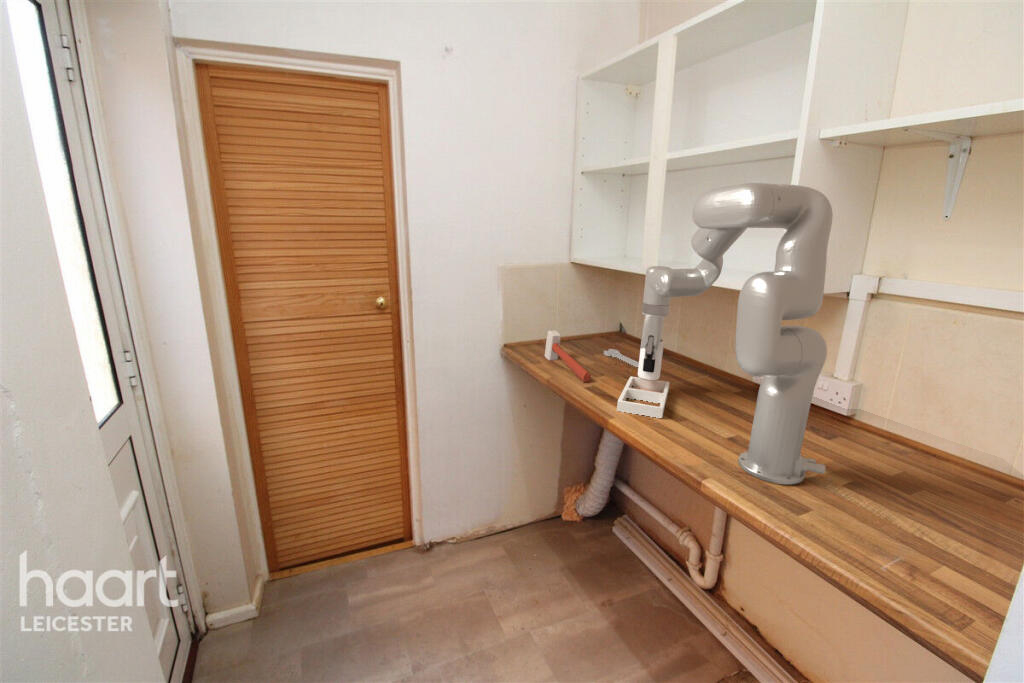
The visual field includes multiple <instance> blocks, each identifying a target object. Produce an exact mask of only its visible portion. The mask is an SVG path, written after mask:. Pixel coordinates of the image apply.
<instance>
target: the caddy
mask: <svg viewBox="0 0 1024 683" xmlns="http://www.w3.org/2000/svg"><path fill="white" fill-rule="evenodd" d="M632 386H633V387H632ZM639 387H640V388H639ZM669 389H670V381H665V380H659V379H658V380H655V381H649V380H644V379H641V378H639V376H637V377H636V376H630V377H629V378H628V380H627V382H626V383H625V386H624V388H623V389H622V391H621V394H620V396H619V397H618V400H617V404H616V412H618V411H621V412H620V413H624V412H626V413H625V414H629V413H632V414H631V415H635V414H639V415H638V416H641V415H645V416H644V417H646V416H650V417H649V418H652V417H656V418H655V419H658V418H662V419H663V416H664V411H665V407H666V403H667V400H668V394H669ZM626 398H629V400H634V399H636V400H635V401H640V400H643V401H642V402H646V401H648V402H647V403H652V402H653V403H654V404H658V403H660V404H659V406H656V405H650V404H644V403H640V402H633V401H627V399H626Z"/></svg>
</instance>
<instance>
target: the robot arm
mask: <svg viewBox="0 0 1024 683" xmlns="http://www.w3.org/2000/svg"><path fill="white" fill-rule="evenodd" d="M693 204H694V205H693V207H692V212H691V217H692V220H693V223H694V224H695V225H696V226H697V227H698V229H697V231H695V233H694V234H693V235H692V237H691V247H692V249H693V250H694V251H695V253H696V254H697V255H698V256H699V257H701V258H702V260H701V261H700V262H699V264H698V265H696V266H695V267H694V268H671V267H669V266H661V265H651V266H649V267H647V269H646V270H645V277H644V278H645V280H644V288H643V300H642V307H641V314H642V316H643V315H644V320H643V326H642V335H641V341H640V349H641V348H642V349H643V348H645V346H646V349H645V358H644V363H643V371H645V372H652V373H653V372H654V367H655V351H656V350H657V349H658V347H659V344H660V341H661V339H662V336H663V329H664V323H665V322H664V321H665V318H667V317H669V316H670V307H671V299H672V298H679V297H681V298H682V297H697V296H700V295H703V294H704V293H706V291H707V290H709V289H710V288H711V287H712V286H713V285H714V283H715V282H716V281H717V280H718V279H719V277H720V275H721V273H722V270H723V267H724V266H723V264H724V257H723V256H724V255H725V253H726V252H727V251H728V250H729V249H730V248H731V247H732V246H733V245H734V244H735V242H737V240H738V239H739V238H740V237H741V236H742V235H743V233H745V231H746V230H747V229H748V228H751V229H759V228H760V229H784V230H786V231H785V232H784V234H783V235H782V237H781V239H780V241H779V242H778V245H777V248H776V251H775V265H774V269H773V270H774V271H762V272H758V273H755V274H754V275H752V276H750V277H749V278H748V279H747V280H746V281H745V282H744V284H743V286H742V287H741V290H740V291H739V294H738V297H737V298H738V300H737V309H736V312H737V313H736V327H735V328H736V329H735V343H734V344H735V346H734V351H735V352H734V353H735V358H736V361H737V364H738V366H739V368H740V369H741V370H742V372H744V373H745V374H747V375H749V376H751V377H756V378H762V380H761V383H760V384H759V389H758V392H757V398H756V403H755V404H756V405H755V409H754V413H753V414H754V415H753V421H752V427H751V433H750V438H749V442H748V449H747V451H744V452H742V453H740V454H739V456H738V460H737V462H738V465H739V466H740V468H741V469H742V470H743V471H745V472H746V473H747V474H749V475H750V476H752V477H755V478H757V479H759V480H762V481H765V482H767V483H772V484H777V485H788V486H789V485H796V484H799V483H800V484H801V483H802V482H803V481H804V480H805V478H806V477H805V476H806V473H807V472H813V473H815V474H820V475H825V472H826V465H825V464H822V463H817V462H816V459H815V458H809V457H807V458H806V457H804V456H803V455H802V454H801V452H802V447H803V443H804V438H805V432H806V428H807V424H808V423H807V422H808V418H809V413H810V408H811V403H812V399H813V396H814V395H813V394H814V392H815V388H816V385H817V382H818V380H819V377H820V374H821V372H822V370H823V369H824V365H825V363H826V360H827V355H828V347H827V346H828V345H827V342H826V340H825V338H824V337H823V335H822V334H821V333H820V332H819V331H817V330H816V329H814V328H812V327H808V326H803V325H787V326H786V325H785V326H784V325H783V326H782V323H783V321H793V320H804V319H807V318H810V317H813V316H815V315H817V313H818V312H819V311H820V310H821V307H822V305H823V301H824V293H825V282H826V272H827V270H826V269H827V259H828V258H827V256H828V255H827V254H828V246H829V241H830V240H829V239H830V236H831V230H832V225H833V217H834V216H833V213H834V212H833V208H832V204H831V202H830V200H829V199H828V197H827V196H826V195H825V194H824V193H822V192H821V191H819V190H817V189H815V188H812V187H808V186H803V185H795V184H788V183H787V184H784V183H762V182H750V183H749V182H747V183H741V184H735V185H731V186H730V185H729V186H725V187H718V188H712V189H709V190H706V191H704V192H703V193H702V194H700V196H699V197H698V198H697V199H696V200H695V203H693ZM653 339H654V341H653ZM647 347H648V348H647ZM652 347H654V349H652ZM652 351H653V352H652Z"/></svg>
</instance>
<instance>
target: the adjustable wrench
mask: <svg viewBox="0 0 1024 683" xmlns="http://www.w3.org/2000/svg"><path fill="white" fill-rule="evenodd" d="M603 355H604V356H606V357H607V356H609V357H610V356H612V357H610V358H614V357H617V358H616V359H618V358H619V360H620V359H621V360H620V361H622V360H623V362H624V361H625V362H624V363H626V362H627V364H628V363H629V364H628V365H630V364H631V365H630V366H632V365H633V366H632V367H634V366H635V367H634V368H636V367H639V361H637V360H635V359H632V358H630V357H627V356H625V355H623V353H621V352H620V350H617V349H613V348H608V350H604V349H603ZM609 357H608V358H609Z"/></svg>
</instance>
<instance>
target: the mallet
mask: <svg viewBox="0 0 1024 683" xmlns="http://www.w3.org/2000/svg"><path fill="white" fill-rule="evenodd" d="M560 343H561V334H560V333H559V332H558V331H557V330H548V331H547V336H546V341H545V350H544V357H545V358H546V359H547V360H548V361H555V360H557V361H558V359H559V358H560V359H561V360H562V361H563V362H564V363H565V364H566V365H567V367H568V368H569V369H570V370H571V371H572V372H573V373H574V374H575V375H576V376H577V377H578V378H579V379H580V380H581V381H582V382H583V383H588V382H590V381H591V379H592V374H591V373H590V372H588V370H587V369H585V368H584V367H583V366H582V365H581V364H580V363H578V362H577V360H575V359H574V358H573V357H572V356H571V355H570V354H568V353H567V352H566V351H564V349H563V348H562V347H561V346H560V345H561V344H560Z"/></svg>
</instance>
